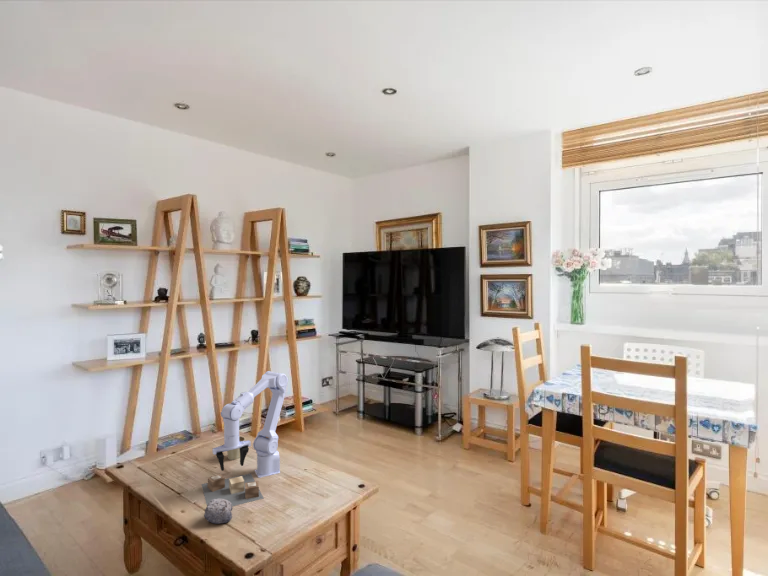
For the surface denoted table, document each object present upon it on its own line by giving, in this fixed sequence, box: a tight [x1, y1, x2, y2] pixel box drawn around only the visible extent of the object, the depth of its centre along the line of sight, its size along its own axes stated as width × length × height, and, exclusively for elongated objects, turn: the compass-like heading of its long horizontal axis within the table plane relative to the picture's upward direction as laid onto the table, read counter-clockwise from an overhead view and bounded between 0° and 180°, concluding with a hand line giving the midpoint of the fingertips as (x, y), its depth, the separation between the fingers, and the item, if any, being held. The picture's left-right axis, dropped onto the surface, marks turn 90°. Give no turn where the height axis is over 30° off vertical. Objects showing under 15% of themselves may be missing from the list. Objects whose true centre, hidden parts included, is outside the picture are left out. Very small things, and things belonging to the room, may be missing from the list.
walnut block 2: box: [245, 480, 260, 499], centre depth 166 cm, size 5×5×4 cm
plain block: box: [229, 475, 244, 494], centre depth 170 cm, size 5×5×4 cm
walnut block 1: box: [207, 473, 226, 492], centre depth 172 cm, size 5×5×4 cm
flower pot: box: [226, 435, 246, 461], centre depth 201 cm, size 9×9×9 cm
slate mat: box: [200, 472, 264, 507], centre depth 169 cm, size 20×24×1 cm
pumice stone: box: [203, 499, 233, 525], centre depth 149 cm, size 10×8×10 cm
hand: (232, 467), depth 170 cm, fingers open, 7 cm apart
